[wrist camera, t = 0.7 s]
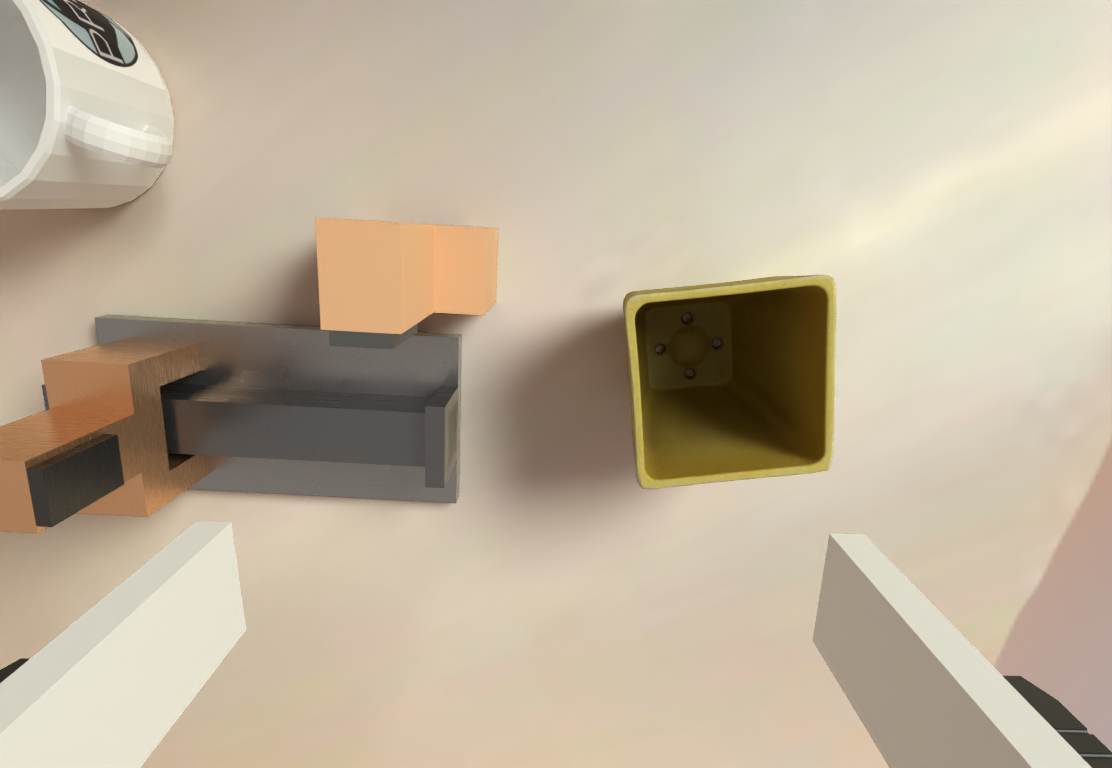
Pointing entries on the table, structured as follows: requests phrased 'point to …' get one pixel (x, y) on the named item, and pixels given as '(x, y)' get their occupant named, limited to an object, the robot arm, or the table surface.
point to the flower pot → (732, 380)
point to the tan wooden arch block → (399, 277)
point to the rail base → (311, 372)
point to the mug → (77, 109)
